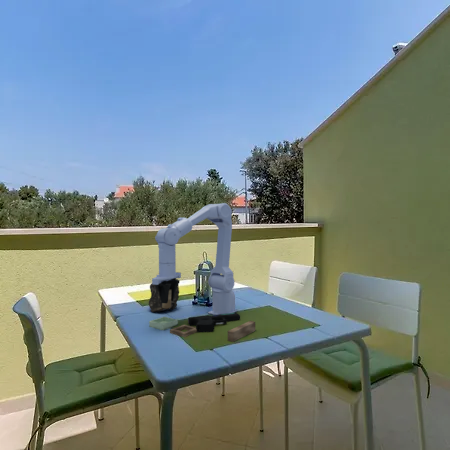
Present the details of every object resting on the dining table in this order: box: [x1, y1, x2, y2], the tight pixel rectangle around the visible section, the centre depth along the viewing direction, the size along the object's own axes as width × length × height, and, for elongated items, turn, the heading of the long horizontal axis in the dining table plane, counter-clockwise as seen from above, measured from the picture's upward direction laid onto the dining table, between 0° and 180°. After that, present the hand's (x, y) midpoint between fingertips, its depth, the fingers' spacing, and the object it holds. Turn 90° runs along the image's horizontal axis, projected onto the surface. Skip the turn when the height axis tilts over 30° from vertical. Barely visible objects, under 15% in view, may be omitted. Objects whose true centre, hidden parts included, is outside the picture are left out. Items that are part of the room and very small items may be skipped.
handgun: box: [187, 312, 241, 333], centre depth 112 cm, size 19×3×12 cm
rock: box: [148, 278, 180, 313], centre depth 133 cm, size 14×13×15 cm
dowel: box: [162, 289, 171, 308], centre depth 110 cm, size 3×3×6 cm
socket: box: [169, 324, 198, 338], centre depth 104 cm, size 7×7×1 cm
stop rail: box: [227, 320, 256, 343], centre depth 101 cm, size 13×2×3 cm, turn 143°
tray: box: [148, 316, 179, 331], centre depth 111 cm, size 7×7×2 cm
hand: (167, 301), depth 110 cm, fingers closed on dowel, 3 cm apart
